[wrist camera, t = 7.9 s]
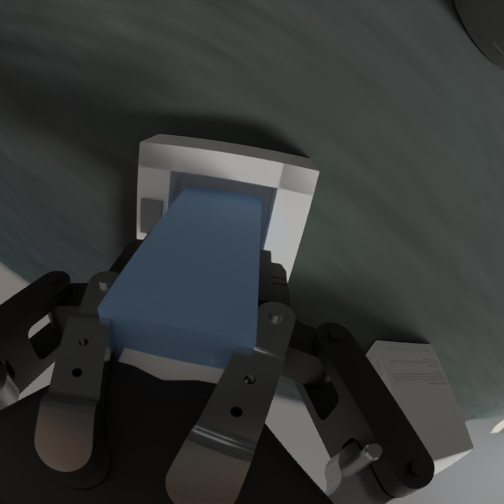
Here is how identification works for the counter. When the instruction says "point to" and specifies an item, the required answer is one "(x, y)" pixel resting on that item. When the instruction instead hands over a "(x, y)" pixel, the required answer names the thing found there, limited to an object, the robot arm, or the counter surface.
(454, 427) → the supplement box
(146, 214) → the jack panel
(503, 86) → the counter surface
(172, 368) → the plug
